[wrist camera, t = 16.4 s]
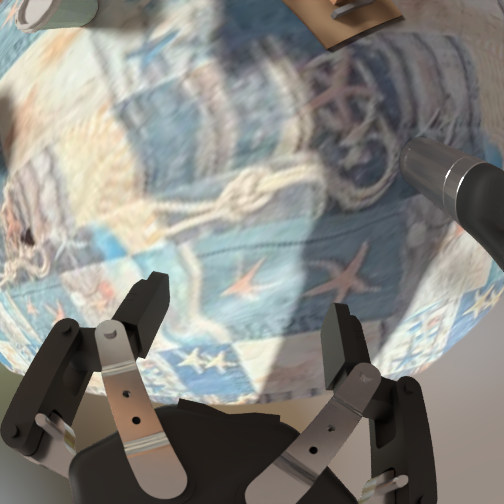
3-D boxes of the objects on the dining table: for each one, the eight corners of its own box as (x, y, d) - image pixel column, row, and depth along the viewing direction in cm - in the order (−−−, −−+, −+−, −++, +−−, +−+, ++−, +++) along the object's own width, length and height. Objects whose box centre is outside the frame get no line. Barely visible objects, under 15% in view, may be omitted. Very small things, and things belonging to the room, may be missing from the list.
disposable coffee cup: (102, -19, 22) (54, -38, 10) (114, 14, 27) (61, -3, 14) (61, 14, 25) (10, 7, 12) (72, 48, 30) (15, 46, 17)
